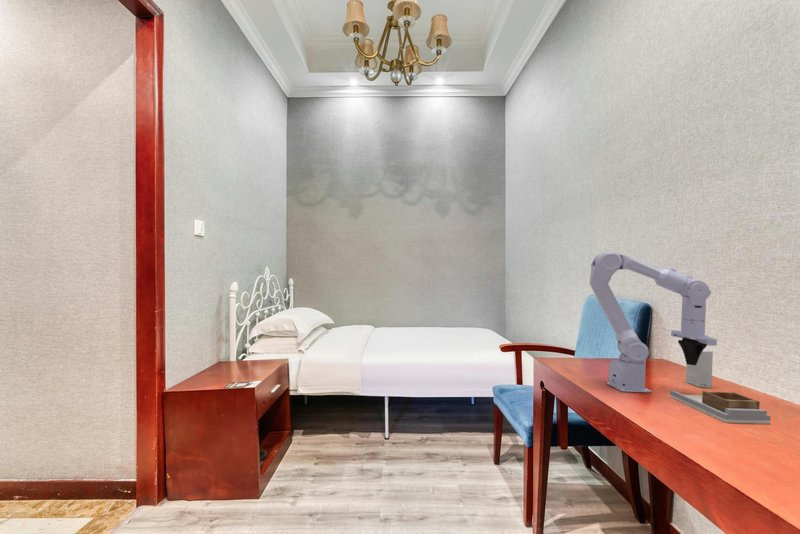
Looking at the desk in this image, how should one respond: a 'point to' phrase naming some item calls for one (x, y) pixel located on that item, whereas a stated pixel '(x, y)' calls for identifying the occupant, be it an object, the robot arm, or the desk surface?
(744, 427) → the desk surface
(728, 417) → the bay
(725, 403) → the crate
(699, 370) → the skincare box
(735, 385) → the desk surface
